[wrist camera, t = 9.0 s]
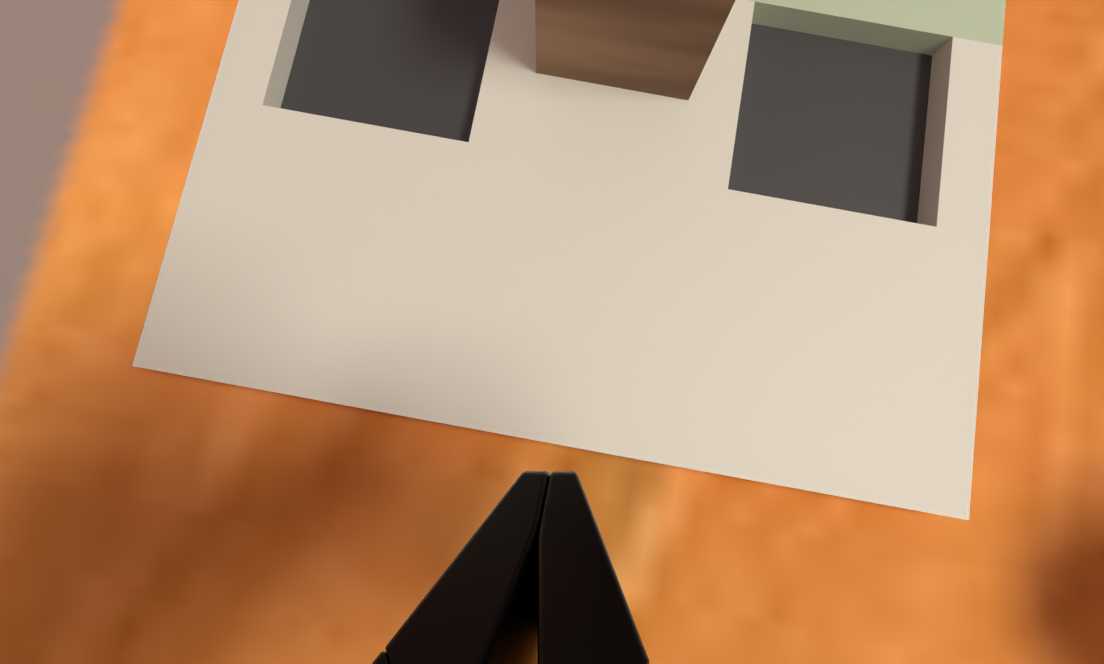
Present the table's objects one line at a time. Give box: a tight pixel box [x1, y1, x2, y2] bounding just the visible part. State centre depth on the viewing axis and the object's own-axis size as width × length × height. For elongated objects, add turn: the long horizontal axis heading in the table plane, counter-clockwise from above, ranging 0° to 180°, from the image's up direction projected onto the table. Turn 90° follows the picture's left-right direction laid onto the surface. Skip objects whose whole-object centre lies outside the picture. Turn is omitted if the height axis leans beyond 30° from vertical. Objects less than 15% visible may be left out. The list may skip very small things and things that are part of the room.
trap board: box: [132, 0, 1006, 520], centre depth 23 cm, size 31×30×2 cm
